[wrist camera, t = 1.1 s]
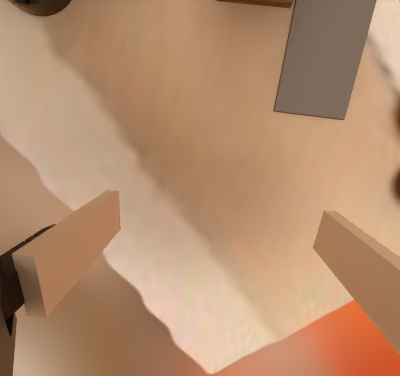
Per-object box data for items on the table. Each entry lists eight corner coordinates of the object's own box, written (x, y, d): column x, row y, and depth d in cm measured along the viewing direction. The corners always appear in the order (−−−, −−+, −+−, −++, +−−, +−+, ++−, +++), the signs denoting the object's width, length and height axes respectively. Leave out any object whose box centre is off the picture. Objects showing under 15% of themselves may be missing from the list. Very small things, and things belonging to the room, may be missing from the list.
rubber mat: (342, 119, 36) (344, 119, 35) (273, 111, 36) (274, 110, 36) (386, -46, 31) (389, -49, 30) (305, -53, 31) (307, -57, 31)
